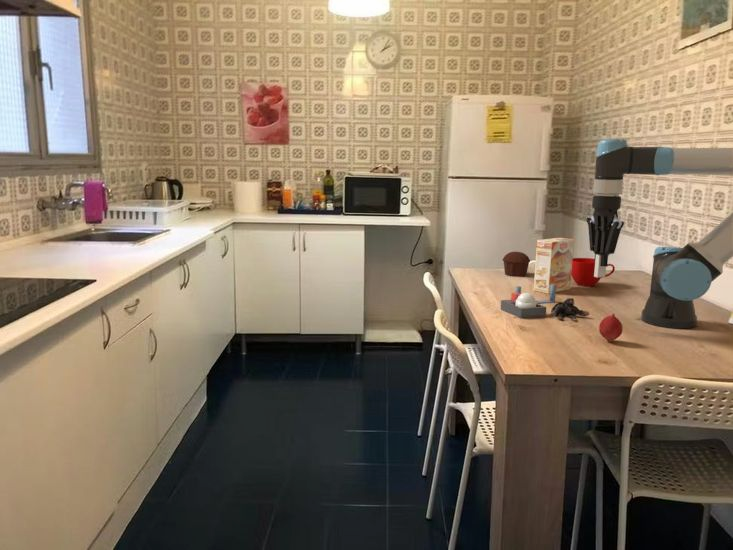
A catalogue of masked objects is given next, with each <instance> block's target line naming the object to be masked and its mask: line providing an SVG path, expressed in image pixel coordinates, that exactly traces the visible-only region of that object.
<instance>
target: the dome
mask: <svg viewBox="0 0 733 550" xmlns="http://www.w3.org/2000/svg"><path fill="white" fill-rule="evenodd" d="M537 301H538V300H536V298H535V296H534V295H533V294H532V293H529V292H521V295H519V296H518V298H517V300H516V306H519V307H521V308H530V307H536V304H537Z"/></svg>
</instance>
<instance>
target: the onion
mask: <svg viewBox="0 0 733 550" xmlns="http://www.w3.org/2000/svg"><path fill="white" fill-rule="evenodd" d="M623 328H624V327H623V324H622V322H621V321H620V320H619V319H618V317H616V315H615V312H612V313H610V314H609V315H607V316H606V317H604V318H603V319H602V320H601V321H600V323H599V327H598V330H599V334H600V335H601V336H602V337H603V338H604V340H606V341H607V342H609V343H612V342H614V341H615V340H616V339H618V338H619V337H621V335H622V334H623Z"/></svg>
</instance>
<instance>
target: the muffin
mask: <svg viewBox="0 0 733 550" xmlns="http://www.w3.org/2000/svg"><path fill="white" fill-rule="evenodd" d="M502 261H503V267H504V268H503V269H504V275H506V276H507V277H513V278H514V277H515V278H522V277H526V276H527V274H528V270H529V265H530V262H531V260H530V257H529V256H528V254H526V253H524V252H521V251H511V252H508V253H506V254H505V255H504V256H503V258H502Z"/></svg>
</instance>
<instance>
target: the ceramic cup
mask: <svg viewBox="0 0 733 550" xmlns="http://www.w3.org/2000/svg"><path fill="white" fill-rule="evenodd" d="M594 260H595V258H590V257H573V260H572V271H571V279H572V280H573V281H574V282H575V284H576V285H577V286H580V287H589V288H591V287H594V286H595V285H596V284H598V283H599V282H600V280H601V279H603V278H607V277H609V276H611V275H612V274H613V273H614V272H615V269H616V268H615V265H614V264H612V263H607V266H606V268H607V267H612V270H611V271H610V272H609V273H607V274H605V277H594V271H595V264H594Z"/></svg>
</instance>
